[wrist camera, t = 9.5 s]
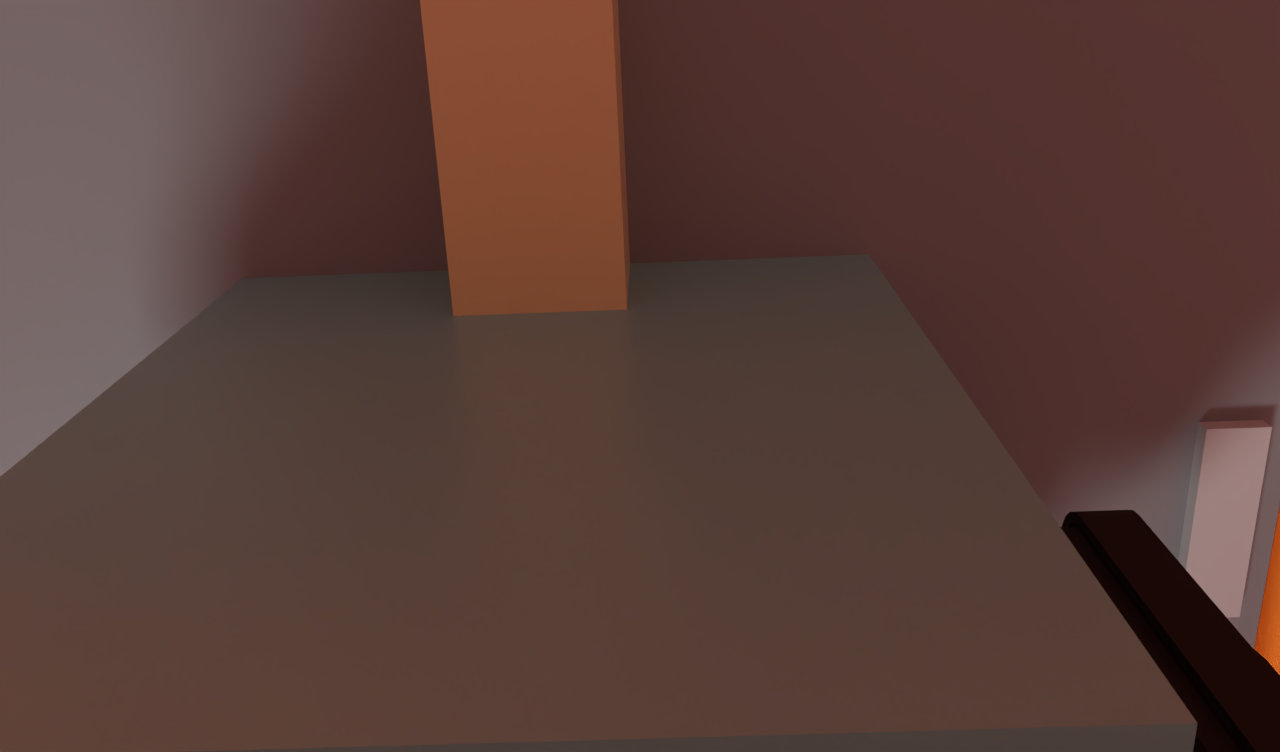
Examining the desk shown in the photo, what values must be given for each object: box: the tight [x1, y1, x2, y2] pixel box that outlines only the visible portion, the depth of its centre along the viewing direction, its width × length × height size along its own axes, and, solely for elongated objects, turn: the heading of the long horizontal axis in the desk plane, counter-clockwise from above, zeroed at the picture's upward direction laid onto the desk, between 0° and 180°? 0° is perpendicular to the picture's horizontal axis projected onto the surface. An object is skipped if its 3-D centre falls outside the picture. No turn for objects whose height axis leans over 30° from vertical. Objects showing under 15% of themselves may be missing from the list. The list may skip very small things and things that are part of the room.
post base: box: [0, 0, 1280, 649], centre depth 11 cm, size 16×16×7 cm
